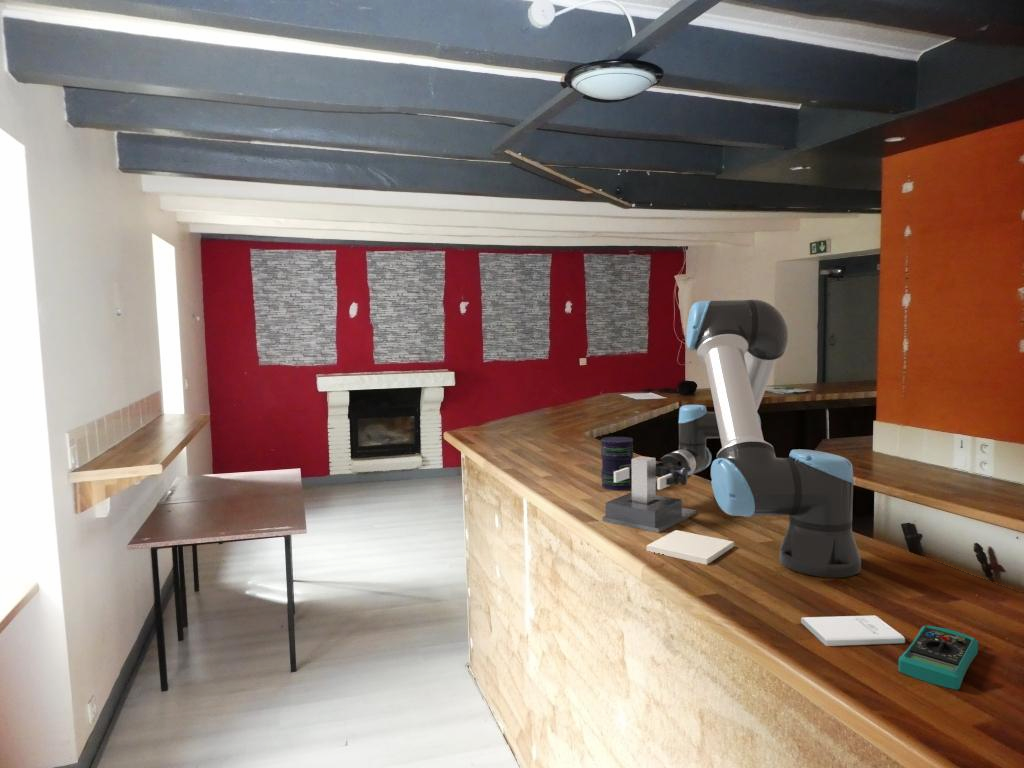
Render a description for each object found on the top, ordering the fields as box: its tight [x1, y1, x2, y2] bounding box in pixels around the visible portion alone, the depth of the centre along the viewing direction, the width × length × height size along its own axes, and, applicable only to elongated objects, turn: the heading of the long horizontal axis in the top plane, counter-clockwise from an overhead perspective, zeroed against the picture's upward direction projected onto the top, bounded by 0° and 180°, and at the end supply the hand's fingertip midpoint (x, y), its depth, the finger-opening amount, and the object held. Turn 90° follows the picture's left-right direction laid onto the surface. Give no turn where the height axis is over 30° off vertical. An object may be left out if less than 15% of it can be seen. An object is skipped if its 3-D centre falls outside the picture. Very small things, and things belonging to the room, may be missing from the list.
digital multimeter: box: [897, 625, 979, 691], centre depth 95 cm, size 7×15×3 cm, turn 136°
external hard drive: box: [800, 614, 906, 647], centre depth 105 cm, size 2×8×12 cm
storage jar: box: [600, 436, 634, 492], centre depth 202 cm, size 10×10×15 cm
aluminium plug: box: [631, 455, 657, 505], centre depth 167 cm, size 4×4×15 cm
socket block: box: [601, 491, 697, 534], centre depth 170 cm, size 16×20×5 cm
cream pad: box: [646, 529, 735, 566], centre depth 146 cm, size 14×14×1 cm
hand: (636, 480), depth 164 cm, fingers open, 12 cm apart
